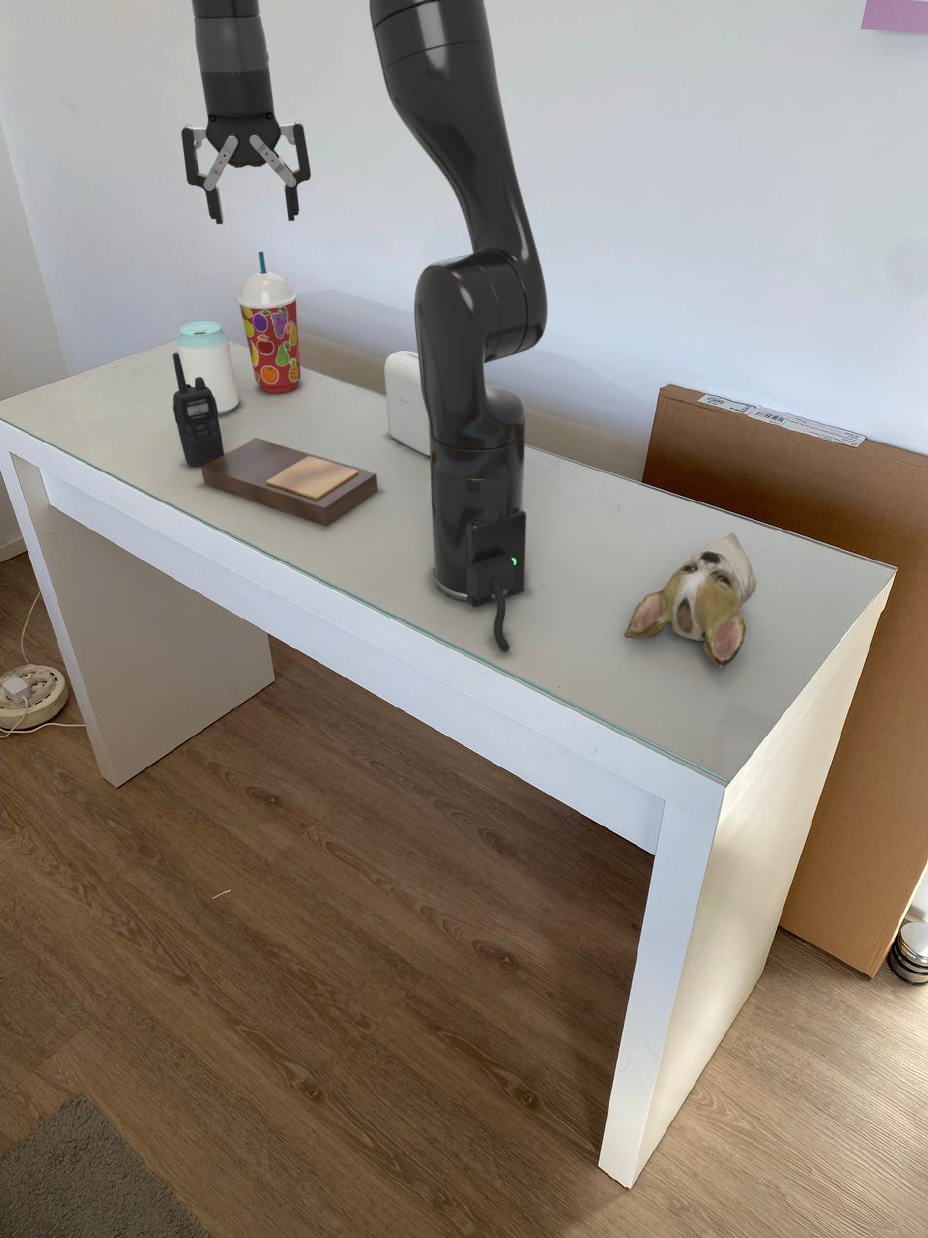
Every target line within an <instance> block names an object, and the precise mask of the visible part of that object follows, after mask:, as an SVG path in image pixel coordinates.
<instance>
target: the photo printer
mask: <svg viewBox="0 0 928 1238" xmlns="http://www.w3.org/2000/svg"><path fill="white" fill-rule="evenodd" d="M384 362H385V363H384V367H383V368H384V369H383V374H384V385H385V386H384V389H385V400H386V412H387V413H386V414H387V425H388V432H389V435H390V436H391V437H392V438H393V439H395V440H397V441H398V442H400V443H402V444H404V445H405V446H408V447H409V448H411V449H413V450H415V451H417V452H419V453H421V454H422V455H426V456H429V457H430V440H429V419H428V414H427V411H426V407H425V404H424V400H423V396H422V391H421V382H420V369H419V359H418V352H414V351H410V350H409V351H408V350H401V351H396V352H393V353H390V354H388V356H387V358H386V360H385V361H384Z"/></svg>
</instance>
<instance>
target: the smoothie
mask: <svg viewBox="0 0 928 1238" xmlns="http://www.w3.org/2000/svg"><path fill="white" fill-rule="evenodd" d="M258 258H259V266H260V271H257V272H255V273H253V274H252V275H250V276H249V277H248V278H247V279H246V280H245V282H244V283H243V285H242V288H241V291H240V295H239V296H238V298H237V301H238V305H239V309H240V314H241V319H242V323H243V328H244V331H245V332H244V333H245V337H246V341H247V345H248V350H249V354H250V359H251V363H252V368H253V373H254V377H255V382H256V383H257V384H259V386H260V389H261V390H262V391H264V392H266V393H270V394H283V393H288V392H291V391H293V390H295V389H296V388H297V387H298V385H299V380H301V363H300V362H301V361H300V347H299V346H300V345H299V332H298V331H299V329H298V327H299V326H298V312H297V311H298V310H297V300H296V299H297V295H296V293H295V291H293V289H292V287H291V286H290V284H289V283H288V281H287V280H286V279H285V278H284V277H282V275H279V274H278V273H275V272H273V271H269V270H266V263H265V262H266V261H265V256H264V251H258Z"/></svg>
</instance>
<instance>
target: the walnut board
mask: <svg viewBox="0 0 928 1238" xmlns="http://www.w3.org/2000/svg"><path fill="white" fill-rule="evenodd" d="M200 470H201V474H202V478H203V484H204V486H207V487H209V488H212V489H215V490H219V491H221V492H224V493H227V494H230V495H233V496H236V497H239V498H242V499H245V500H248V501H251V502H254V503H257V504H260V505H263V506H265V507H267V508H272V509H275V510H277V511H280V512H284V513H287V514H290V515H292V516H295V517H299V518H301V519H304V520H308V521H310V522H313V523H316V524H319V525H322V526H325V527H328V526H330V525H331V524H332V523H334V522H335V521H337V520H339V519H340V518H342V517H343V516H345V515H346V514H348V513H349V512H350V511H352V510H353V509H354V508H356V507H357V506H359V505H360V504H362V503H363V502H364V501H365V500H368V499H369V498H370V497H372V496H373V495H374V494H376V493H378V491H379V489H378V488H379V487H378V478H377V477H378V476H377V473H376V472H373V471H369V470H366V469H363V468H359V467H355V466H353V465H348V464H345V463H342V462H338V461H336V460H332V459H329V458H325V457H322V456H319V455H315V454H311V453H308V452H304V451H301V450H298V449H294V448H291V447H288V446H285V445H281V444H278V443H275V442H271V441H268V440H264V439H261V438H257V437H254V438H253V439H251V440H249V441H247V442H245V443H243V444H242V445H240V446H237V447H236V448H235V449H232V450H231V451H229V452H227V453H224V455H223V456H221V457H220V458H218V459H216V460H214V461H212V462H210V463H208V464H204V465H202V466H201V467H200Z"/></svg>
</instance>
